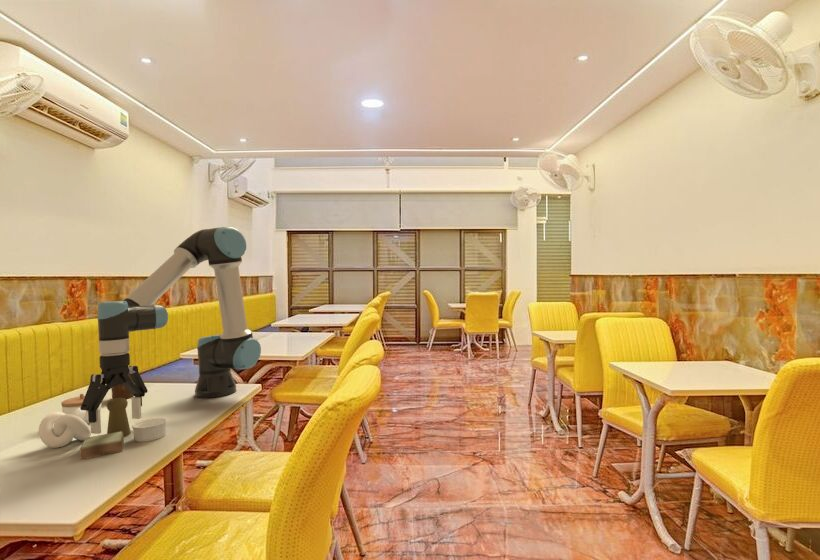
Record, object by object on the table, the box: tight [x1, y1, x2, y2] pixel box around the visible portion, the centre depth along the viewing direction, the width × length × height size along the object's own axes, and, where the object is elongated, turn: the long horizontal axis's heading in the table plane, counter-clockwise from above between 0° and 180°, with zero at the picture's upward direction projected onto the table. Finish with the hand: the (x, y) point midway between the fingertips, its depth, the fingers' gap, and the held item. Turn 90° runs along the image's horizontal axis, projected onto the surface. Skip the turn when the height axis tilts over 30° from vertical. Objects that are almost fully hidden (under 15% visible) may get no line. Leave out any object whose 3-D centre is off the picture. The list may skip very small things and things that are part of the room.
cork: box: [106, 398, 131, 438], centre depth 135 cm, size 6×6×11 cm
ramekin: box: [131, 417, 168, 443], centre depth 132 cm, size 9×9×4 cm
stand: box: [80, 431, 125, 460], centre depth 123 cm, size 9×9×3 cm
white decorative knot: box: [38, 408, 92, 449], centre depth 130 cm, size 11×12×9 cm
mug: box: [111, 374, 135, 400], centre depth 179 cm, size 12×8×9 cm, turn 29°
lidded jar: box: [61, 393, 102, 425], centre depth 149 cm, size 11×11×9 cm
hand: (117, 425), depth 135 cm, fingers open, 13 cm apart
